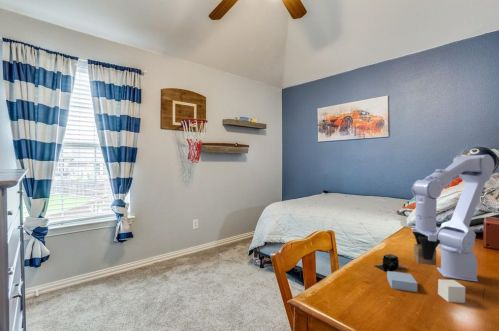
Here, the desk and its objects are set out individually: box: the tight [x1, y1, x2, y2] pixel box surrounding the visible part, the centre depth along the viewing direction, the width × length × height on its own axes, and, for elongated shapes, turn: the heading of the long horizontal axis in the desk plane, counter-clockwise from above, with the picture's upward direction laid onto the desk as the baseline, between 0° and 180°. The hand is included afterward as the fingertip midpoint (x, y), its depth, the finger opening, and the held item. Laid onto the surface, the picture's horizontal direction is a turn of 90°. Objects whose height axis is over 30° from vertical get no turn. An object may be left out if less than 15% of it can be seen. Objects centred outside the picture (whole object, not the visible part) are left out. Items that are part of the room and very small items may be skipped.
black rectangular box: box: [373, 253, 408, 273], centre depth 97 cm, size 13×8×5 cm, turn 108°
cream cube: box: [437, 278, 466, 304], centre depth 75 cm, size 4×4×4 cm
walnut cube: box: [413, 243, 437, 266], centre depth 86 cm, size 5×5×5 cm
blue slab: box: [386, 271, 418, 293], centre depth 83 cm, size 7×7×3 cm
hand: (425, 256), depth 86 cm, fingers closed on walnut cube, 5 cm apart
